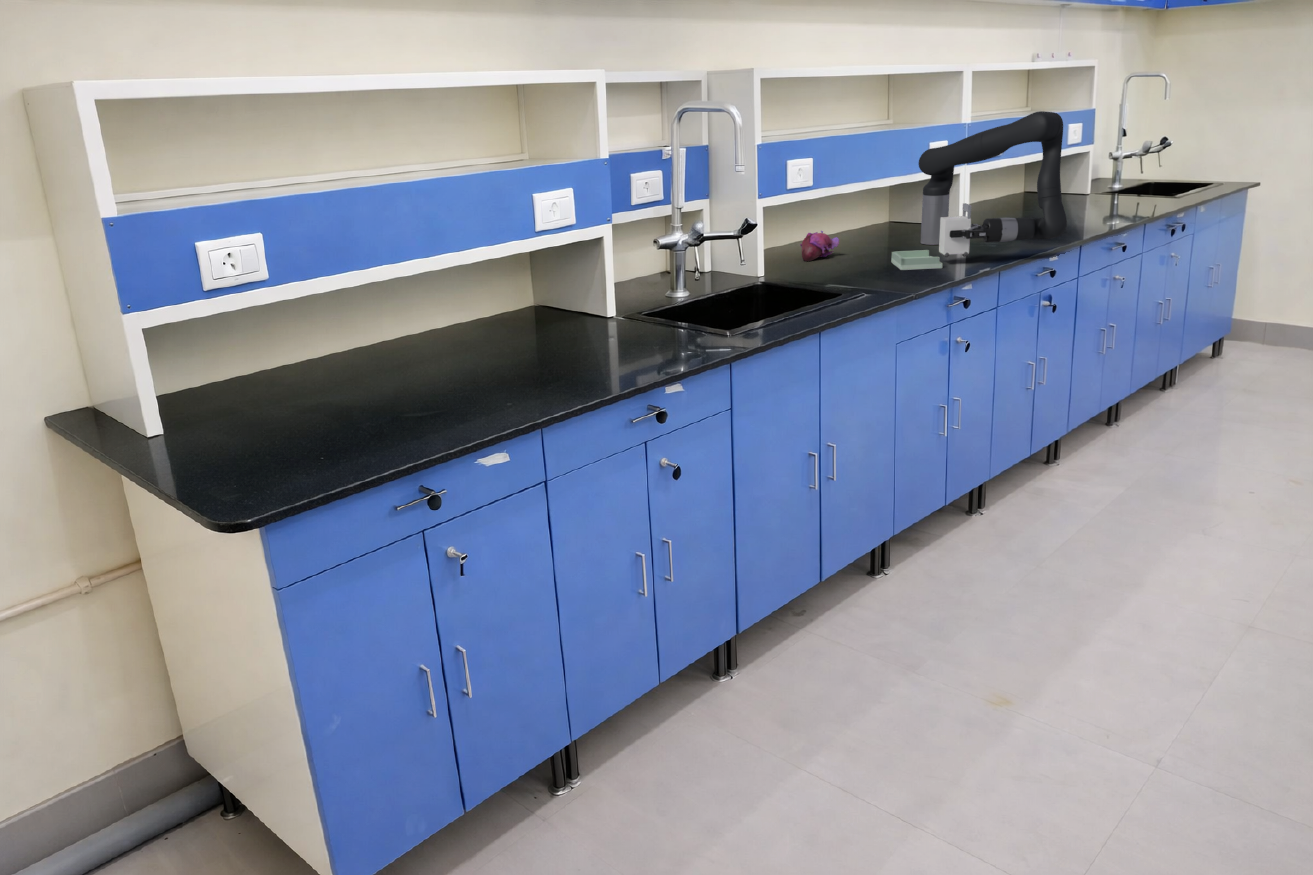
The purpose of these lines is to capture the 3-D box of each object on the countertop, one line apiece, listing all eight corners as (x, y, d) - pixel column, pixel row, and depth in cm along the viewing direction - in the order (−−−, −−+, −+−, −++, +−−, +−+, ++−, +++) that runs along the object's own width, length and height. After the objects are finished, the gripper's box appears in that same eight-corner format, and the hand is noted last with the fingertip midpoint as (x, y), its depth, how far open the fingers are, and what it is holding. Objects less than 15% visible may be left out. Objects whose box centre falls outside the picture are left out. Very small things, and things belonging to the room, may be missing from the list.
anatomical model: (806, 261, 330) (847, 250, 332) (799, 234, 328) (840, 223, 331) (794, 265, 341) (834, 255, 344) (788, 239, 340) (827, 228, 343)
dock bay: (891, 262, 323) (891, 251, 322) (930, 260, 323) (931, 249, 322) (901, 270, 310) (901, 259, 309) (942, 268, 310) (942, 257, 309)
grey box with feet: (938, 254, 319) (941, 204, 313) (963, 253, 319) (966, 203, 313) (943, 258, 313) (946, 207, 307) (969, 256, 313) (972, 205, 307)
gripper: (993, 214, 318) (941, 217, 318) (1008, 221, 305) (954, 224, 305) (992, 238, 321) (940, 240, 321) (1006, 245, 307) (952, 248, 308)
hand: (947, 232), depth 313 cm, fingers closed on grey box with feet, 6 cm apart
